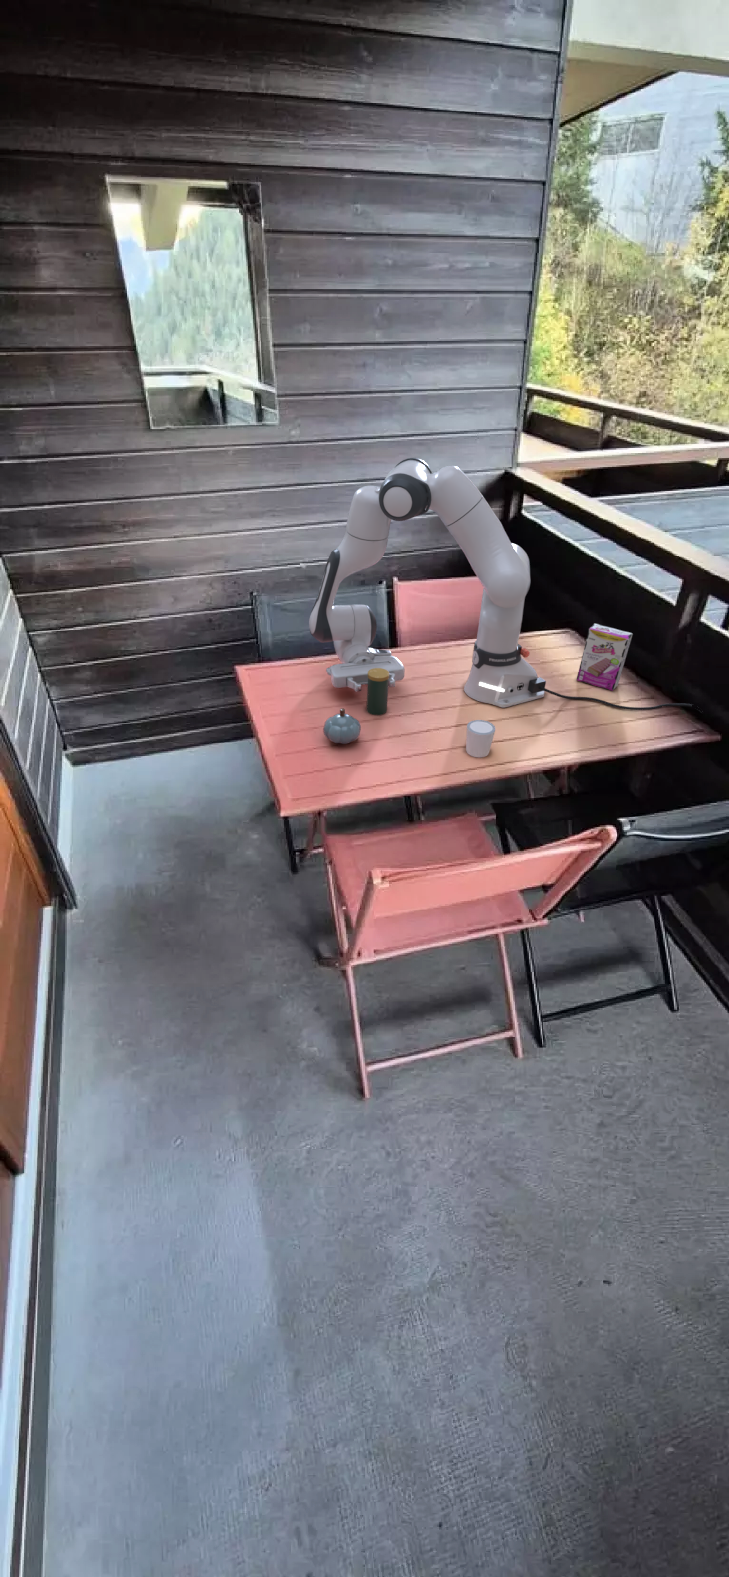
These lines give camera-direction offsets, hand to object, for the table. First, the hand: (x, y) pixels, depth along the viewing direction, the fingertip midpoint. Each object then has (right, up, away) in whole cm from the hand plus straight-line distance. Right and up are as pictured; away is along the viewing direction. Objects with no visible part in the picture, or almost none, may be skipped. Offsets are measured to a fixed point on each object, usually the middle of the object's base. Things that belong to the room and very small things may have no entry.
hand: (375, 686), depth 184 cm
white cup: (+25, -18, -12) cm, 33 cm away
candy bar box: (+65, +4, +19) cm, 67 cm away
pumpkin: (-9, -15, -10) cm, 20 cm away
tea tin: (0, -6, +2) cm, 6 cm away
